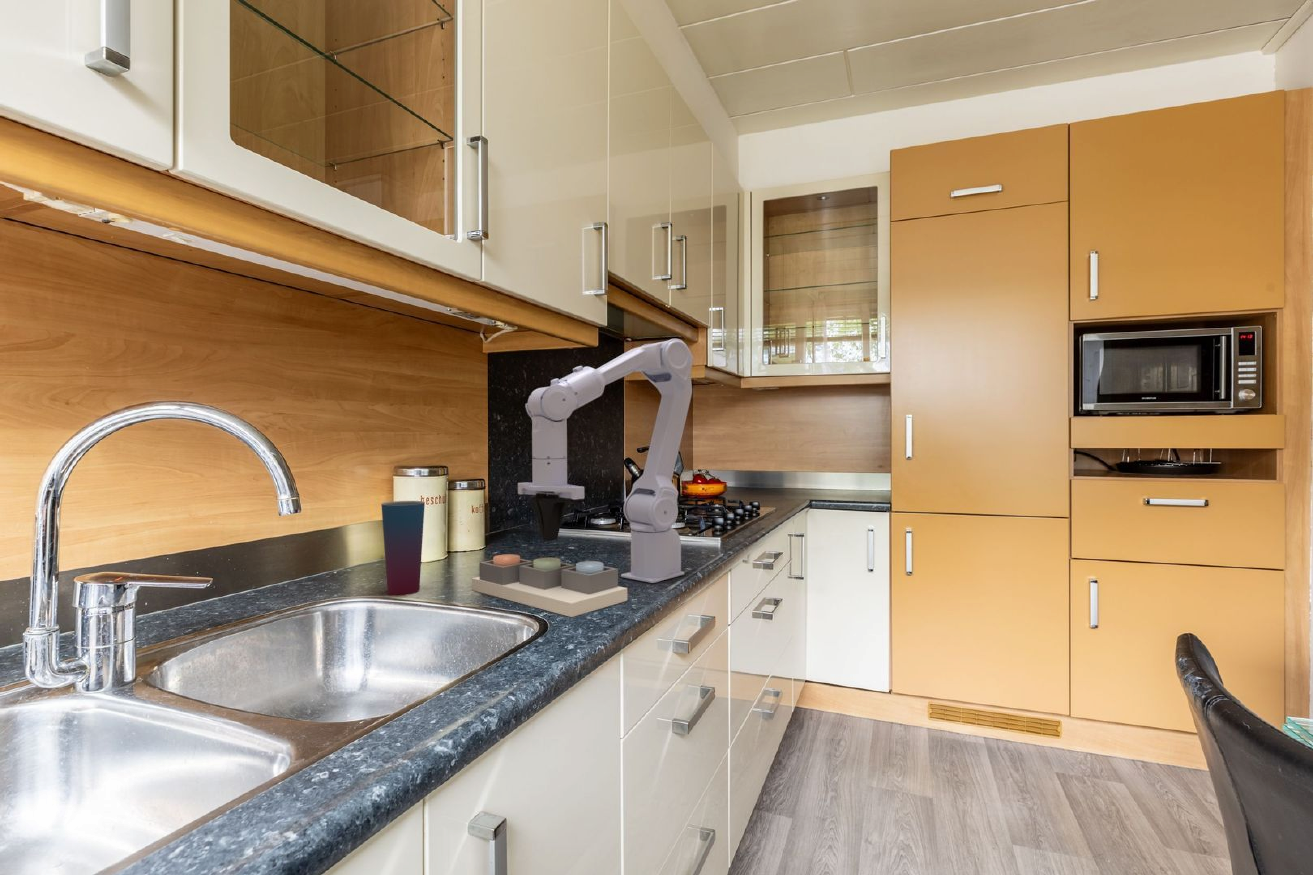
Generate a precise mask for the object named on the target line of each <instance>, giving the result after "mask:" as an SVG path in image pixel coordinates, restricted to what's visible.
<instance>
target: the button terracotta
mask: <svg viewBox="0 0 1313 875" xmlns="http://www.w3.org/2000/svg"><path fill="white" fill-rule="evenodd" d="M520 559H521V556H520V555H519V554H511V553H508V554H507V553H505V554H498V555H494V556H493V559H492V560H493V564H494V565H499V566H503V567H504V566H509V565H514V564H519V563H520Z"/></svg>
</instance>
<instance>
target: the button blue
mask: <svg viewBox="0 0 1313 875" xmlns="http://www.w3.org/2000/svg"><path fill="white" fill-rule="evenodd" d="M603 566H604V563H603V562H602V561H595V560H590V561H587V560H586V561H579V562H577V563H576V564H575V567H576V572H580V573H585V574H593V573H597V572H602V571H603Z"/></svg>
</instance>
